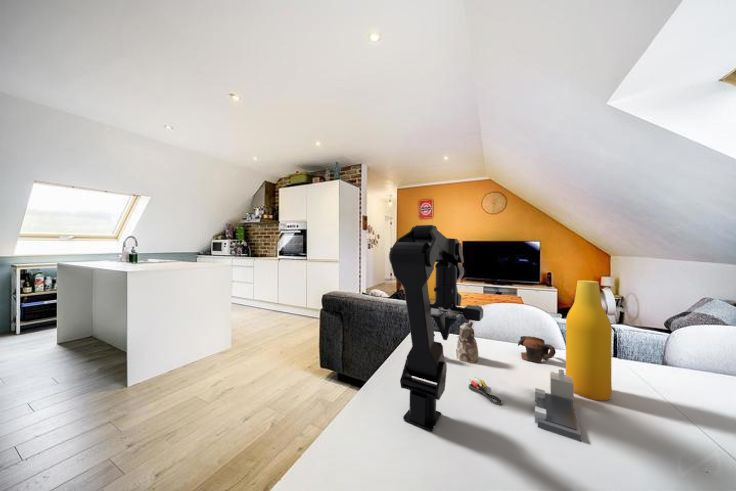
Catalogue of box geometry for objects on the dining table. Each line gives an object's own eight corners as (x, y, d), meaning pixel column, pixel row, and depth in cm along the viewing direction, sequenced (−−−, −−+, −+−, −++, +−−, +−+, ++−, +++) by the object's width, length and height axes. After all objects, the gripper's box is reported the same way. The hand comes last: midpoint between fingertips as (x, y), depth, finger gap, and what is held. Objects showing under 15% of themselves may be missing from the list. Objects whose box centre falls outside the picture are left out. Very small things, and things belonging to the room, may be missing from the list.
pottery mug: (511, 358, 89) (512, 334, 92) (527, 365, 92) (526, 342, 96) (549, 362, 79) (548, 335, 83) (565, 370, 82) (563, 344, 86)
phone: (581, 441, 49) (581, 429, 49) (534, 426, 54) (534, 414, 54) (572, 405, 61) (572, 394, 61) (535, 394, 65) (535, 385, 65)
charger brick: (573, 404, 61) (573, 377, 61) (550, 398, 64) (551, 371, 64) (571, 396, 65) (571, 369, 65) (550, 390, 67) (550, 365, 67)
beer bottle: (562, 378, 74) (563, 278, 74) (605, 388, 69) (606, 280, 69) (568, 394, 66) (568, 281, 66) (617, 406, 61) (617, 284, 61)
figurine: (451, 355, 89) (451, 321, 89) (466, 352, 92) (466, 319, 92) (467, 364, 82) (467, 327, 82) (483, 360, 85) (483, 324, 85)
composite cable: (504, 406, 61) (504, 395, 61) (486, 407, 60) (486, 397, 60) (480, 384, 71) (480, 375, 71) (464, 385, 70) (464, 376, 70)
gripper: (486, 283, 73) (486, 338, 73) (424, 278, 83) (423, 326, 83) (479, 288, 64) (479, 351, 63) (410, 282, 74) (409, 336, 74)
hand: (445, 339), depth 71 cm, fingers closed
